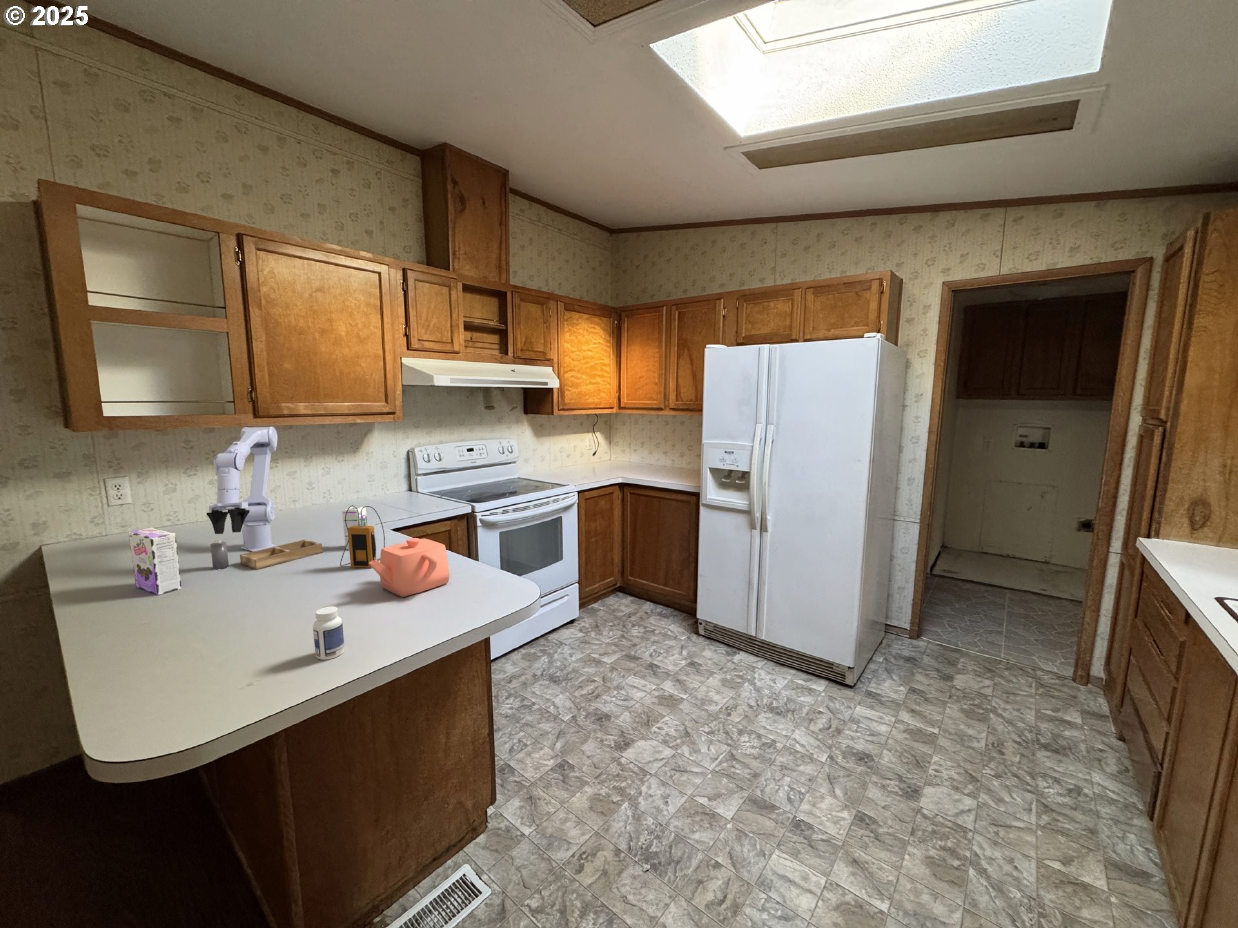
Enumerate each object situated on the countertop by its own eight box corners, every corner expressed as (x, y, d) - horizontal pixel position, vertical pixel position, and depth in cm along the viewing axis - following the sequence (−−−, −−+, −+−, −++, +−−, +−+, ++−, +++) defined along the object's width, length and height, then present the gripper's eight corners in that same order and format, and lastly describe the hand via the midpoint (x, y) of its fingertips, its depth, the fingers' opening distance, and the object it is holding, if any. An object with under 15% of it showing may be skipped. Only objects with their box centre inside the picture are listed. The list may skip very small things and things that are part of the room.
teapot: (419, 571, 160) (417, 527, 158) (461, 587, 146) (458, 539, 144) (353, 590, 144) (350, 542, 142) (392, 610, 130) (389, 557, 129)
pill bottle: (349, 647, 111) (346, 604, 110) (336, 660, 106) (333, 615, 105) (324, 648, 111) (320, 605, 110) (310, 660, 106) (306, 615, 105)
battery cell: (210, 568, 163) (207, 541, 162) (225, 564, 166) (222, 538, 165) (216, 570, 161) (213, 543, 160) (231, 566, 164) (228, 540, 163)
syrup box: (361, 549, 182) (358, 509, 180) (344, 549, 182) (341, 509, 180) (369, 545, 187) (366, 506, 185) (353, 545, 187) (350, 506, 185)
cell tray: (240, 564, 167) (239, 554, 166) (306, 548, 184) (305, 539, 184) (256, 569, 161) (255, 560, 161) (322, 552, 179) (321, 543, 178)
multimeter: (399, 558, 171) (395, 499, 169) (383, 568, 162) (378, 506, 159) (357, 557, 173) (353, 499, 170) (339, 567, 163) (333, 505, 160)
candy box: (134, 587, 147) (126, 531, 145) (160, 580, 153) (153, 526, 150) (157, 595, 141) (149, 537, 139) (183, 588, 146) (176, 532, 144)
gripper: (199, 491, 162) (197, 535, 161) (232, 487, 158) (231, 532, 156) (222, 492, 169) (221, 534, 167) (254, 488, 165) (254, 531, 163)
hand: (227, 533), depth 162 cm, fingers open, 7 cm apart
